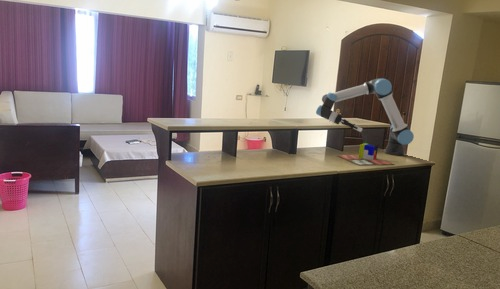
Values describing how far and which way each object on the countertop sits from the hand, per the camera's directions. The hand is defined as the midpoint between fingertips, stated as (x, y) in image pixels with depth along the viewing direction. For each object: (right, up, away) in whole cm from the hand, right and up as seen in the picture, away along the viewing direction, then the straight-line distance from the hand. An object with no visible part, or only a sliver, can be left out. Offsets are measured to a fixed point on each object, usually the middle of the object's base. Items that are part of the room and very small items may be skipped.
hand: (361, 130), depth 289 cm
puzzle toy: (+4, -21, +1) cm, 21 cm away
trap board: (0, -22, -8) cm, 23 cm away
